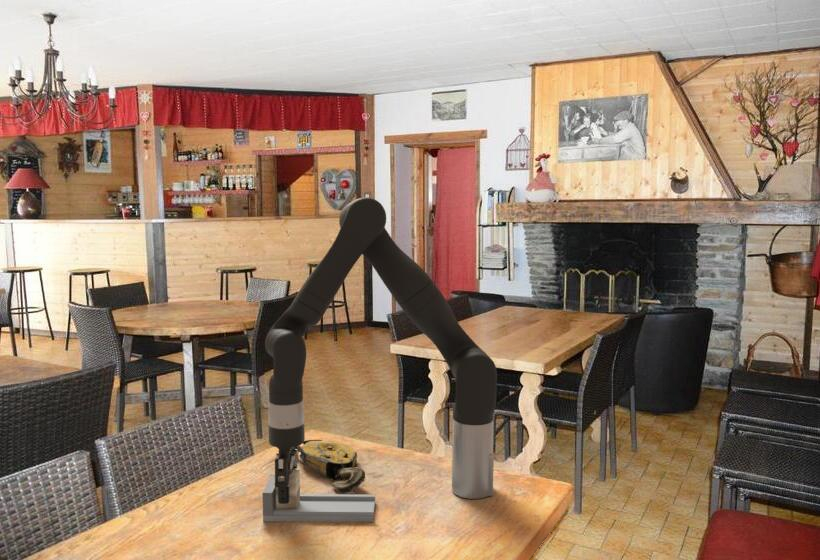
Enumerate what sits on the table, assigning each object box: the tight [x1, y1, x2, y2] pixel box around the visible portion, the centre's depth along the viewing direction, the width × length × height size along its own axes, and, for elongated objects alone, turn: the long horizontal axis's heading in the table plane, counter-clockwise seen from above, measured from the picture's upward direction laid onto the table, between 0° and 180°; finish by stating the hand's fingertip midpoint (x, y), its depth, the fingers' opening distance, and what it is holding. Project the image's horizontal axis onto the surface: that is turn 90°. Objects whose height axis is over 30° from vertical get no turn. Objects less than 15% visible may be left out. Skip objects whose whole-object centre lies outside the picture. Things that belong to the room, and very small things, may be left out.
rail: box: [262, 474, 376, 523], centre depth 146 cm, size 23×9×6 cm, turn 90°
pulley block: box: [298, 439, 366, 494], centre depth 168 cm, size 14×6×30 cm
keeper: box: [275, 469, 301, 509], centre depth 146 cm, size 4×4×7 cm
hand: (287, 494), depth 146 cm, fingers open, 8 cm apart
